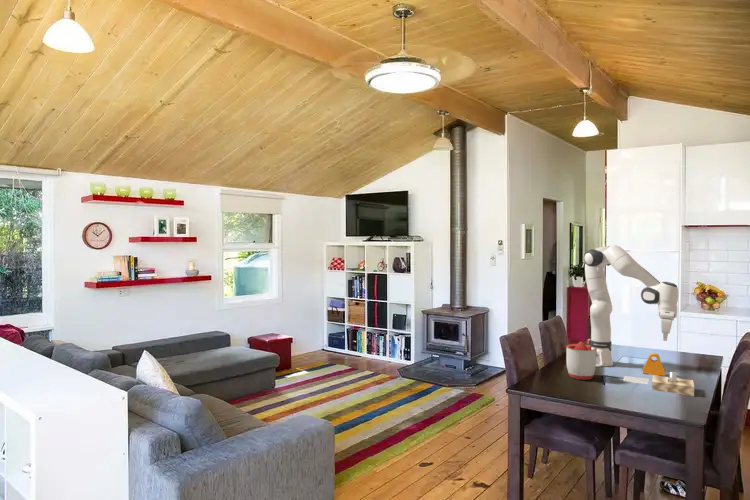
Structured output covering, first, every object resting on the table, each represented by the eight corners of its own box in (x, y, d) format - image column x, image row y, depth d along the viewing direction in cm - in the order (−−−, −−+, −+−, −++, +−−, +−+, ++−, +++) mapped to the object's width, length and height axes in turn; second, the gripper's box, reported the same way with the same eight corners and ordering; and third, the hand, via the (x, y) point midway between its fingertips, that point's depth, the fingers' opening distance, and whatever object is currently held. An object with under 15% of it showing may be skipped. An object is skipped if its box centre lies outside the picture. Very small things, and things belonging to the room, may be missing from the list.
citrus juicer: (604, 381, 274) (605, 344, 274) (573, 381, 273) (573, 344, 272) (590, 373, 290) (591, 338, 289) (560, 373, 288) (561, 338, 288)
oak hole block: (652, 390, 257) (652, 381, 257) (652, 383, 269) (652, 375, 269) (694, 396, 248) (694, 387, 248) (692, 389, 260) (693, 380, 260)
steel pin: (669, 390, 258) (669, 372, 258) (669, 388, 261) (669, 371, 261) (676, 391, 257) (676, 373, 257) (676, 389, 259) (676, 371, 259)
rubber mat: (622, 381, 273) (622, 381, 273) (624, 376, 283) (624, 375, 283) (648, 385, 267) (648, 384, 267) (649, 379, 277) (649, 378, 277)
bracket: (665, 374, 289) (665, 353, 289) (664, 377, 283) (665, 355, 282) (643, 371, 294) (643, 351, 294) (642, 374, 288) (643, 353, 288)
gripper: (661, 309, 279) (659, 334, 280) (659, 314, 262) (657, 341, 262) (674, 311, 276) (672, 336, 277) (674, 316, 258) (671, 343, 259)
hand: (665, 339), depth 269 cm, fingers open, 8 cm apart
